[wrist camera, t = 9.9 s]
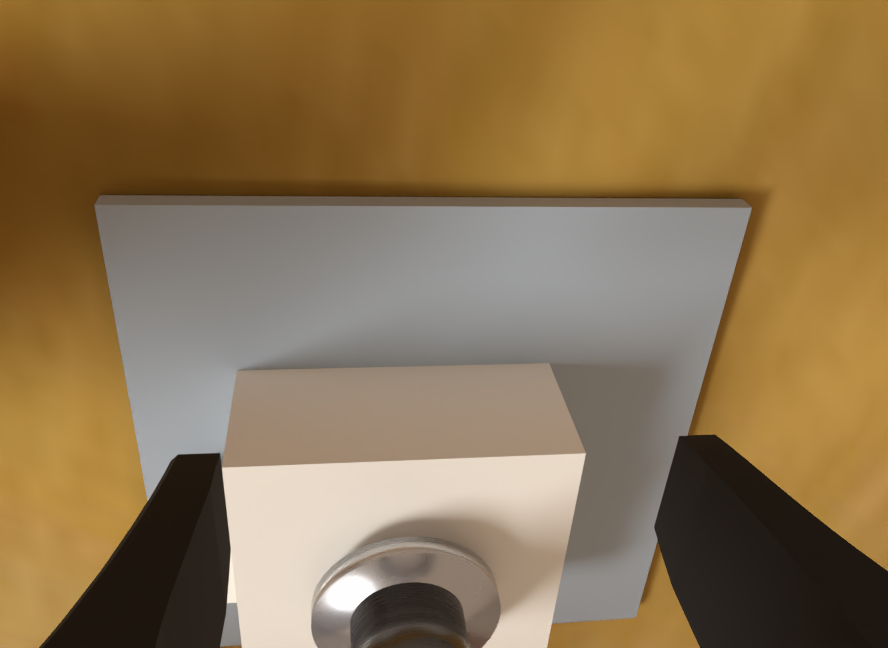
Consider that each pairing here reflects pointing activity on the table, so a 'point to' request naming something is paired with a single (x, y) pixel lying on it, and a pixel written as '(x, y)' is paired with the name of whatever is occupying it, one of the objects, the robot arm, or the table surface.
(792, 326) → the table surface
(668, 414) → the board
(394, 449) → the box
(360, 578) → the plunger
